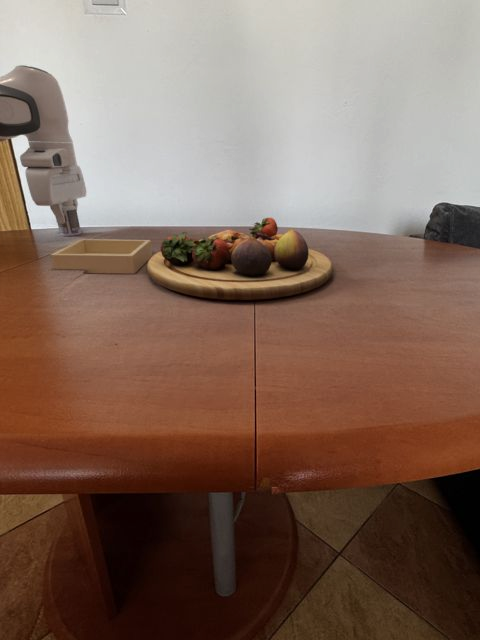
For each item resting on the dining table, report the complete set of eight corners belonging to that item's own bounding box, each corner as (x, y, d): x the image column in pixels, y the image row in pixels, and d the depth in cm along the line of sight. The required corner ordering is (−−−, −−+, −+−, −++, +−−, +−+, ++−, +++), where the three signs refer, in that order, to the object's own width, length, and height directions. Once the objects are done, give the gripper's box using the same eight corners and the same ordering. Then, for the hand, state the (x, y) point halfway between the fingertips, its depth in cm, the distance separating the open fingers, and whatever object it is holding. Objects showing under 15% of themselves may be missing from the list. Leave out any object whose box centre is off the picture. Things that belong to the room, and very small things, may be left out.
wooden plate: (229, 243, 87) (228, 205, 83) (360, 267, 71) (367, 221, 67) (108, 275, 63) (99, 224, 60) (262, 322, 47) (263, 256, 43)
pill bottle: (80, 232, 95) (73, 196, 91) (81, 235, 92) (74, 198, 88) (59, 233, 93) (51, 197, 90) (60, 236, 90) (51, 199, 86)
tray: (54, 272, 64) (50, 254, 63) (84, 254, 75) (81, 238, 74) (134, 273, 65) (132, 255, 63) (152, 255, 76) (150, 240, 74)
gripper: (61, 156, 94) (73, 214, 100) (14, 157, 76) (33, 228, 82) (86, 156, 94) (97, 214, 100) (46, 158, 76) (62, 229, 82)
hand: (68, 221), depth 91 cm, fingers closed on pill bottle, 5 cm apart
